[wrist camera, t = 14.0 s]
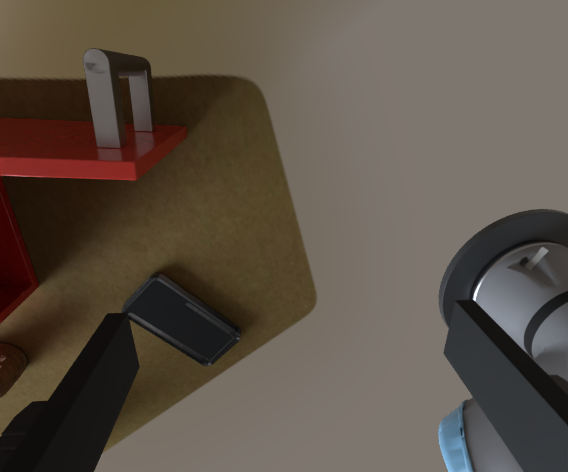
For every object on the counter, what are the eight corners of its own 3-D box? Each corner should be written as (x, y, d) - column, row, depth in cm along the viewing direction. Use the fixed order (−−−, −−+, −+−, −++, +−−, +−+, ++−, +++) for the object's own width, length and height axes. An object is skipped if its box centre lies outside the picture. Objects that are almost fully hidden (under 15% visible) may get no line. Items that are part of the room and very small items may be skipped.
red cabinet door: (-31, 47, 33) (-301, 17, 17) (183, 61, 35) (121, 46, 19) (-8, 128, 36) (-219, 168, 20) (187, 137, 38) (137, 180, 22)
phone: (207, 368, 50) (118, 312, 45) (208, 362, 51) (120, 307, 46) (244, 336, 48) (154, 273, 43) (244, 330, 49) (157, 269, 44)
